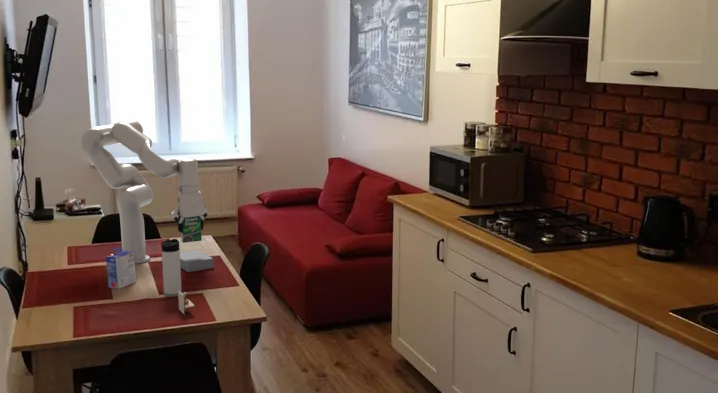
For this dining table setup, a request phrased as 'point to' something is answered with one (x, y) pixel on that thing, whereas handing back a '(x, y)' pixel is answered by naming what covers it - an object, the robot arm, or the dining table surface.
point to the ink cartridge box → (120, 268)
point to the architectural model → (181, 302)
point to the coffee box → (191, 229)
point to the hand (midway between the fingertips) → (191, 230)
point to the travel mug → (171, 267)
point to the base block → (195, 261)
